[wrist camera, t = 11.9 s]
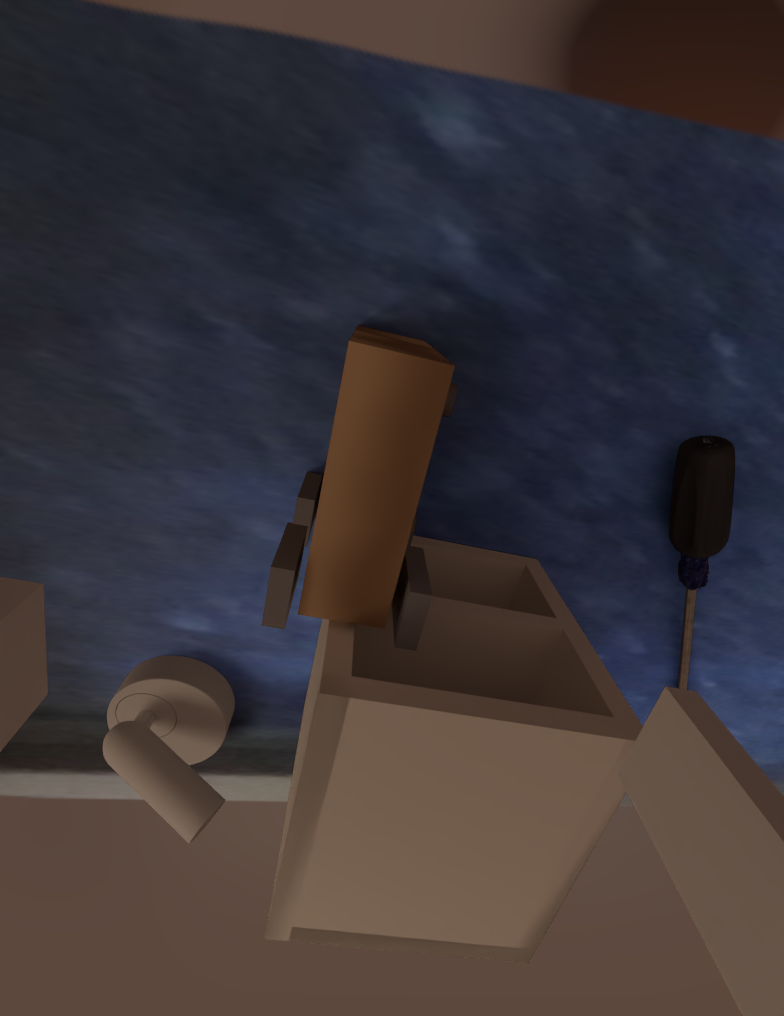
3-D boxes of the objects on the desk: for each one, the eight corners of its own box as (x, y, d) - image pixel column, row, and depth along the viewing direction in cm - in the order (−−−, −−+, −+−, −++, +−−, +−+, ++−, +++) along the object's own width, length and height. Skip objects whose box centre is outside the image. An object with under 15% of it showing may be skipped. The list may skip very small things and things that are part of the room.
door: (322, 510, 34) (297, 614, 22) (358, 325, 29) (349, 341, 18) (397, 525, 34) (409, 633, 23) (443, 345, 30) (485, 372, 19)
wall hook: (182, 882, 33) (30, 833, 31) (222, 760, 42) (106, 714, 40) (239, 804, 30) (77, 743, 28) (269, 691, 39) (147, 637, 37)
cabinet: (268, 695, 39) (205, 933, 25) (307, 471, 32) (252, 615, 18) (473, 726, 41) (528, 962, 27) (551, 521, 34) (685, 688, 20)
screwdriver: (697, 720, 42) (726, 758, 39) (654, 728, 42) (679, 766, 39) (712, 423, 32) (753, 438, 29) (655, 434, 32) (689, 451, 29)
